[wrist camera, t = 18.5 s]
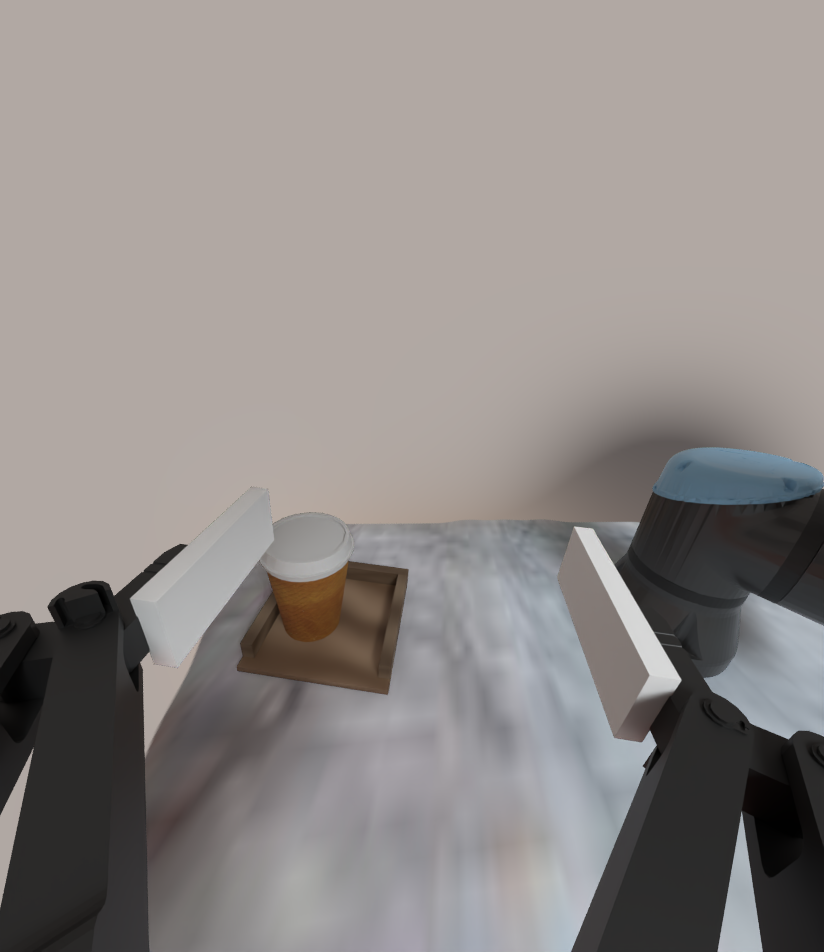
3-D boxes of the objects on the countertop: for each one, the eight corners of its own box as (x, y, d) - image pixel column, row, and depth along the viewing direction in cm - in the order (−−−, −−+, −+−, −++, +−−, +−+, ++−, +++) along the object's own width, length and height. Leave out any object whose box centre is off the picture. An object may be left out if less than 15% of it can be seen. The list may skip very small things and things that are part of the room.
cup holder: (387, 694, 36) (389, 677, 34) (237, 670, 37) (233, 653, 35) (407, 584, 49) (408, 569, 48) (297, 569, 50) (296, 554, 49)
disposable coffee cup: (256, 655, 38) (241, 565, 32) (282, 588, 46) (272, 508, 41) (349, 656, 38) (348, 568, 33) (357, 590, 47) (358, 511, 41)
